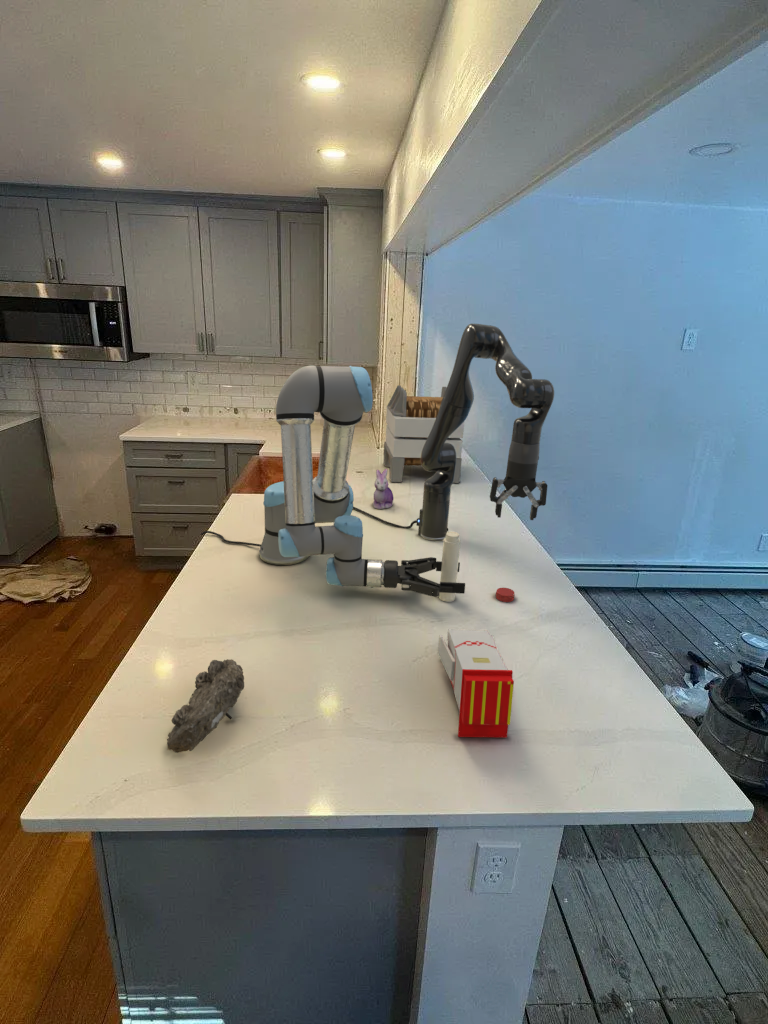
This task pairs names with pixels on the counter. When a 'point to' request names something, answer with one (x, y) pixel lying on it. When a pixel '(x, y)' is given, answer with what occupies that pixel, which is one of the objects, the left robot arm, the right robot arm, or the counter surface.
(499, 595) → the lid
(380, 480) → the figurine
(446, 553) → the jar
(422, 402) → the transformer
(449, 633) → the toy
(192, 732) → the fossil
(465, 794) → the counter surface
